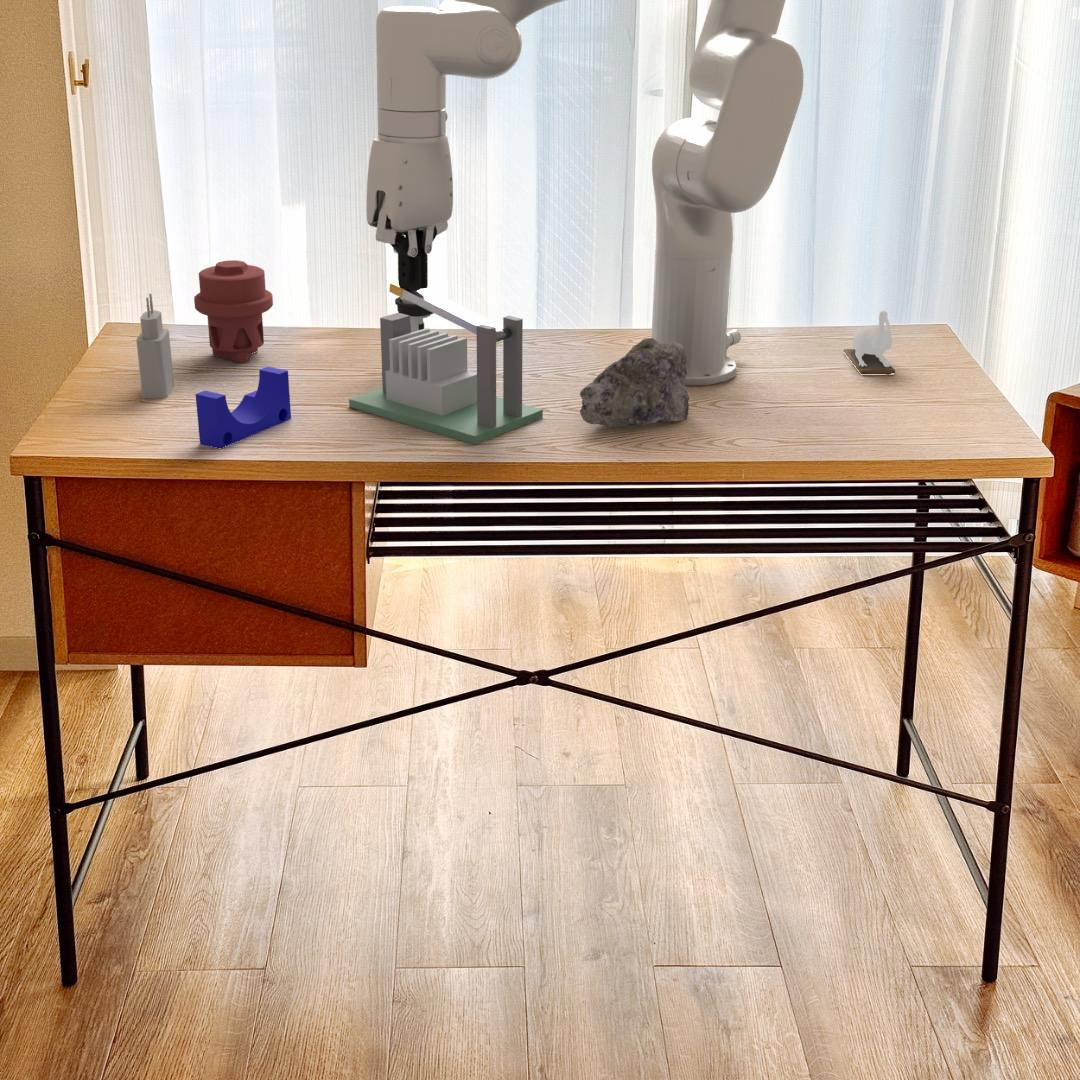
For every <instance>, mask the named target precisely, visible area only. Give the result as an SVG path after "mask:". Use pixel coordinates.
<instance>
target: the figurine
mask: <svg viewBox="0 0 1080 1080" xmlns="http://www.w3.org/2000/svg"><path fill="white" fill-rule="evenodd" d="M885 325H886V327H885ZM851 343H852V348H844V349H843V352H845V353H846V355H847V356H848V357H849V359H850V360H851V361H852V363H853V364H854V365H855V366H856V368H857V369H858V370H859V372H860V373H861V374H891V373H895V374H896V369H894V367H893V365H892V363H890V362H889V361H888V360H887V359H886V358H885V357H884V356H883V354H885V352H886V351H889V350H890V349H891V348H892V345H893V337H892V331H891V326H890V322H889V318H888V312H887V311H886V310H881V311H880V312H879V316H878V324H871V325H867V326H862V327H860V328H858V329H857V330H855V333H854V334H853V337H852V342H851ZM859 372H858V373H859Z"/></svg>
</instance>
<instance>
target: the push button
mask: <svg viewBox="0 0 1080 1080" xmlns="http://www.w3.org/2000/svg"><path fill="white" fill-rule="evenodd" d="M394 304H395V305H396V307H397V313H401V314H405V315H409V316H410V333H412V332H415V331H419V330H422V329H425V322H424V319H427V318H429V317H431V315H433V314H434V313H433V312H431V311H429V310H427V309H425V308H423V307H421V306H419V305H417V304H415V303H413V302H411V301H409V300H407V299H405V298H403V297H402V298H401V297H399V296H398V297H397V298H395V299H394Z"/></svg>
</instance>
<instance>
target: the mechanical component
mask: <svg viewBox="0 0 1080 1080" xmlns="http://www.w3.org/2000/svg"><path fill="white" fill-rule="evenodd" d="M265 277H266V275H265V270H264V269H263V268H262V267H258V266H257V265H251V264H247V263H246V262H245V261H242V260H236V259H234V260H221V261H219V262H216V264H215V265H213V266H209V267H206V268H204V269H202V270H200V271H199V272H198V283H199V292H198V293H196V295H195V296H194V297H193V302H194V309H195V310H196V311H197V312H198V313H200V314H202V315H204V316H207V326H208V328H207V329H208V340H209V347H210V348H211V349H212V350H211V352H212V355H214V357H215V356H219V357H218V358H221V357H224V358H223V359H227V358H229V359H228V360H231V359H232V361H234V362H236V363H239V364H245V363H247V362H248V361H249V356H252V355H253V354H255V353H254V352H256V351H257V352H258V351H259V348H261V347H262V346H264V345H265V339H264V338H265V337H264V325H263V324H264V323H263V314H264V313H266V312H268V311H269V310H271V308H272V307H273V305H274V299H273V293H272V292H270V291H269V290H267V289H266V288H267V287H266V278H265ZM257 352H256V353H257ZM252 353H253V354H252ZM244 362H245V363H244Z"/></svg>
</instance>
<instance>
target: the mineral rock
mask: <svg viewBox="0 0 1080 1080" xmlns="http://www.w3.org/2000/svg"><path fill="white" fill-rule="evenodd" d="M686 361H687V355H686V351H685V349H684V347H683V346H682V345H681V344H679V343H676V342H671V343H665V344H660V343H658V342H657V341H655V340H654V339H653V338H652V337H651V338H649V337H648V338H643V339H642V340H641V341H639V342H638V343H637V344H634V345H633V346H632V348H631V349H630V350H629V351H628V352H627V353H626V354H625V356H623V357H621V358H619V359H618V360H617V361H614V362H613V363H611V364H610V365H608V366H607V367H605V368H604V370H602V372H600V373H599V374H598V375H597V376H596V377H595V378H594V379H593V380H592V382H590V383H588V384H587V385H586V386H585V387H583V388H582V389H581V390H580V392H579V396H580V398H581V408H580V409H579V414H580V416H581V418H582V420H583V421H585V423H587V424H589V425H599V426H606V427H618V428H619V427H620V428H621V427H622V428H626V427H627V428H628V427H632V426H636V427H637V426H643V425H649V424H655V423H663V422H681V421H683V420H684V419H685V420H687V419H688V417H689V409H690V403H689V402H690V397H689V391H688V390H687V388H686V385H685V377H686V375H687V370H686Z"/></svg>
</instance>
